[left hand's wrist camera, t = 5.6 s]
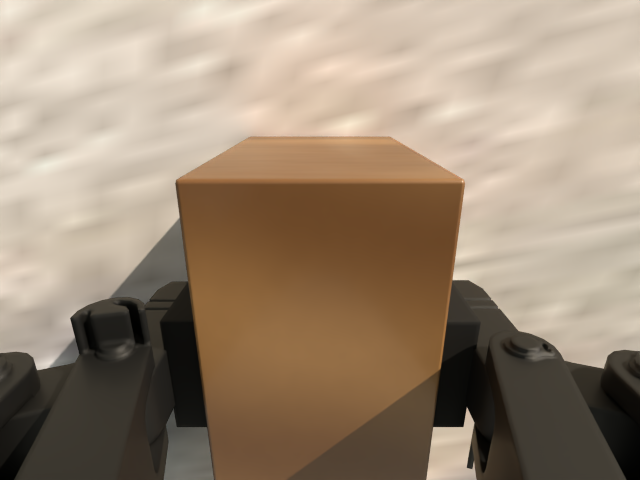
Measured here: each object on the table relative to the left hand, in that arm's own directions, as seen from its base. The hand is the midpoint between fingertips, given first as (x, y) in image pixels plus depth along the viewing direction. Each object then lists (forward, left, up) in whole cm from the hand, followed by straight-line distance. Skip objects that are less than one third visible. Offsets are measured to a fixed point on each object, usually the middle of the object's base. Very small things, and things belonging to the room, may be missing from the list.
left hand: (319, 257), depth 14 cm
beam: (+3, +32, -1) cm, 33 cm away
